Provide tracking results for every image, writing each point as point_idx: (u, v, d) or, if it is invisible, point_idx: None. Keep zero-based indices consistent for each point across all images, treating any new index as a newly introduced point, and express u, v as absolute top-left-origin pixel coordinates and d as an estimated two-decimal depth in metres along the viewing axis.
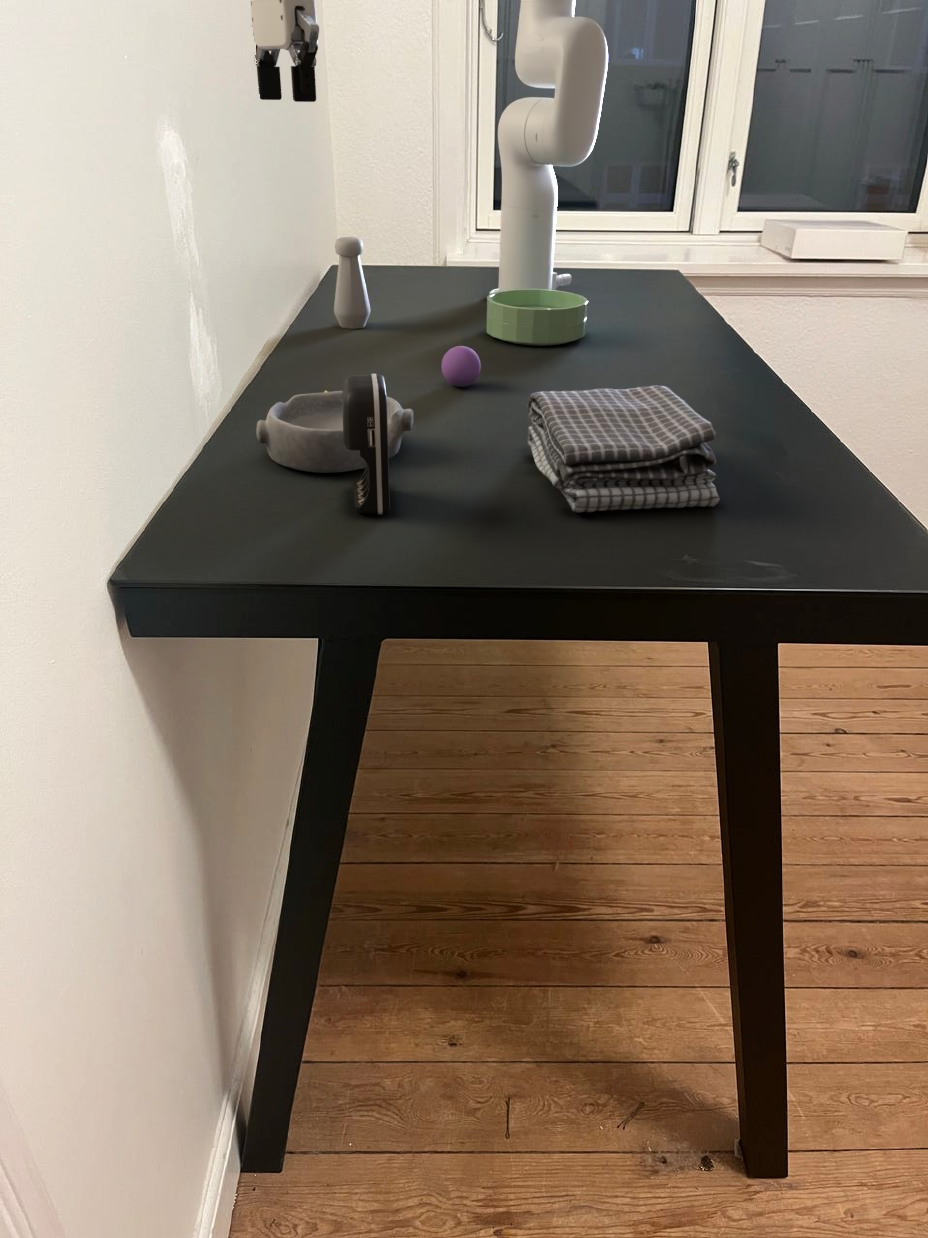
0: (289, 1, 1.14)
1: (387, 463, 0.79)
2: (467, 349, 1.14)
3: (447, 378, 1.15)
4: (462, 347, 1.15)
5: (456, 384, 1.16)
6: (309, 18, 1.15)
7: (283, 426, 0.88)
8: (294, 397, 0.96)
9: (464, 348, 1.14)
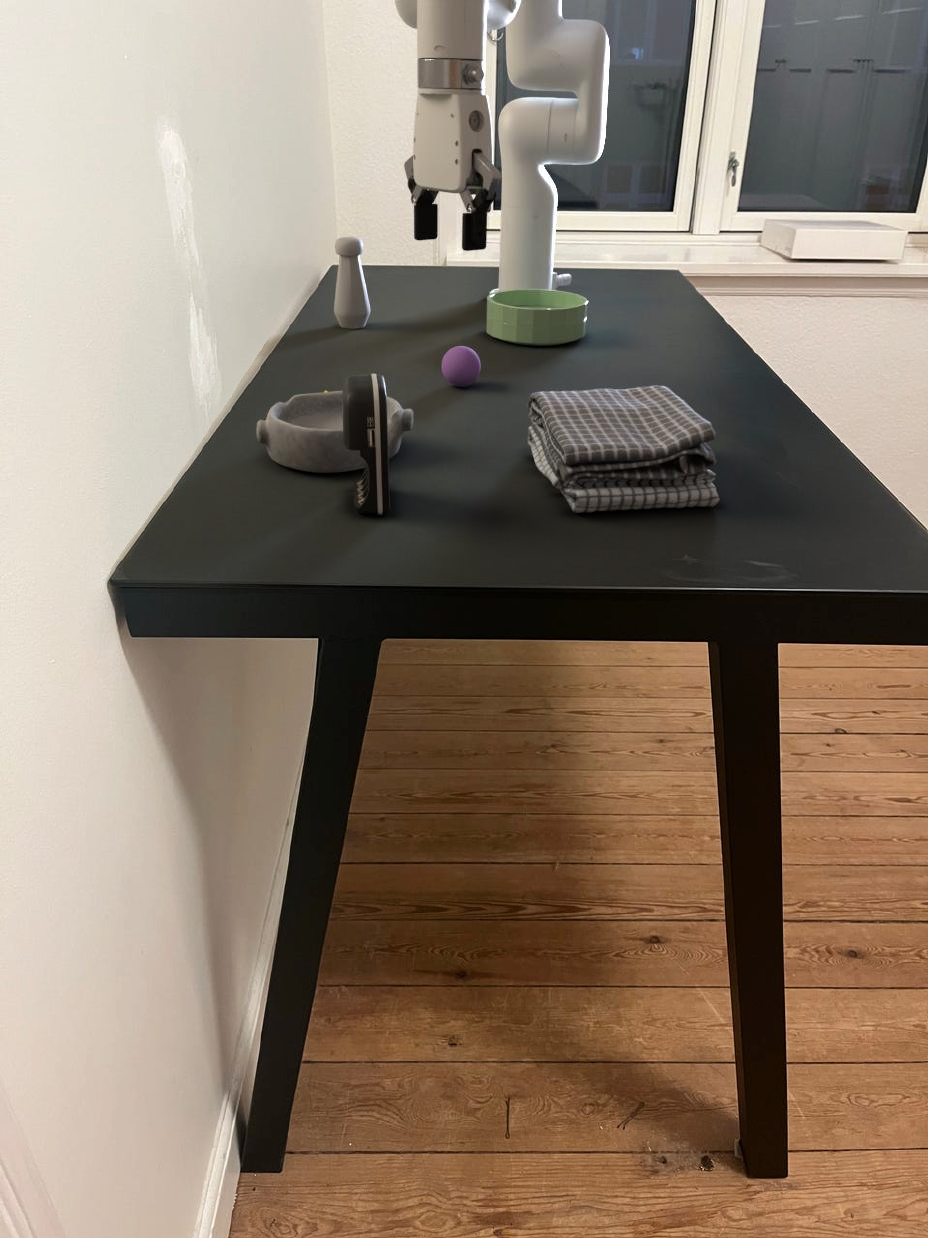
0: (467, 144, 1.01)
1: (387, 463, 0.79)
2: (467, 349, 1.14)
3: (447, 378, 1.15)
4: (462, 347, 1.15)
5: (456, 384, 1.16)
6: (489, 163, 1.01)
7: (283, 426, 0.88)
8: (294, 397, 0.96)
9: (464, 348, 1.14)
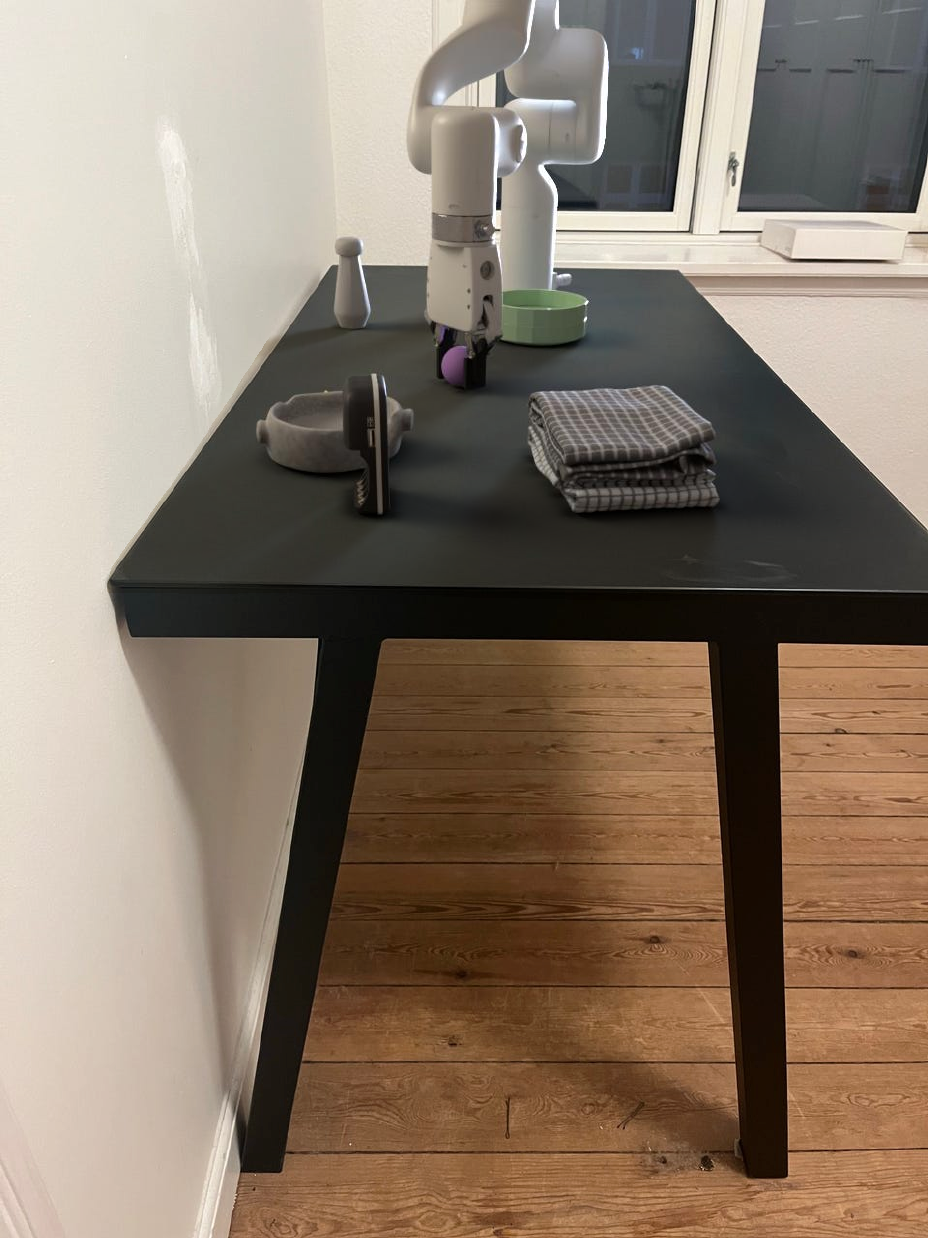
0: (478, 292, 1.07)
1: (387, 463, 0.79)
2: None
3: (447, 378, 1.15)
4: (462, 347, 1.15)
5: (456, 384, 1.16)
6: (495, 320, 1.08)
7: (283, 426, 0.88)
8: (294, 397, 0.96)
9: (464, 348, 1.14)
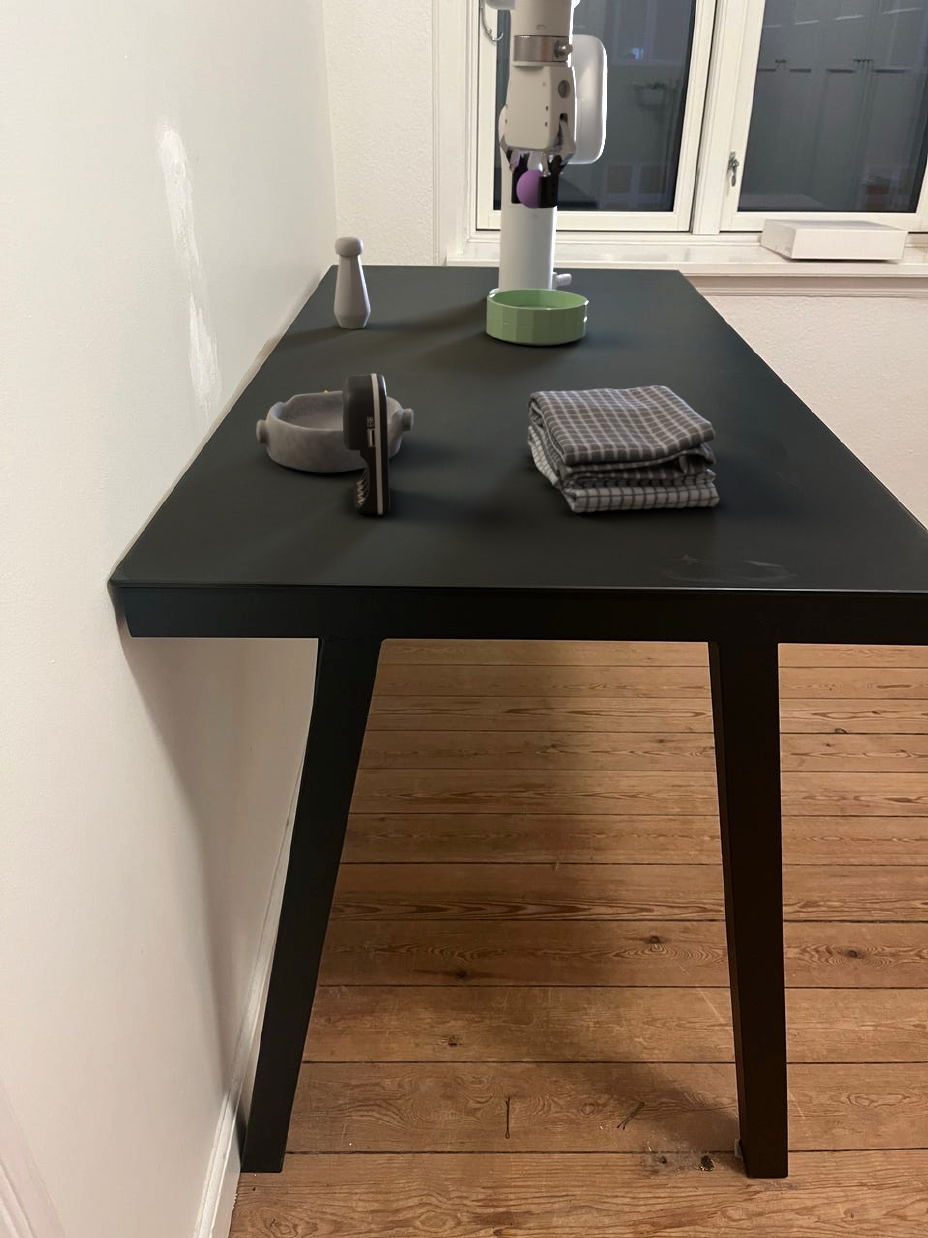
0: (556, 109, 1.19)
1: (387, 463, 0.79)
2: (541, 171, 1.26)
3: (522, 199, 1.27)
4: (536, 169, 1.26)
5: (530, 205, 1.27)
6: (569, 137, 1.20)
7: (283, 426, 0.88)
8: (294, 397, 0.96)
9: (538, 170, 1.26)
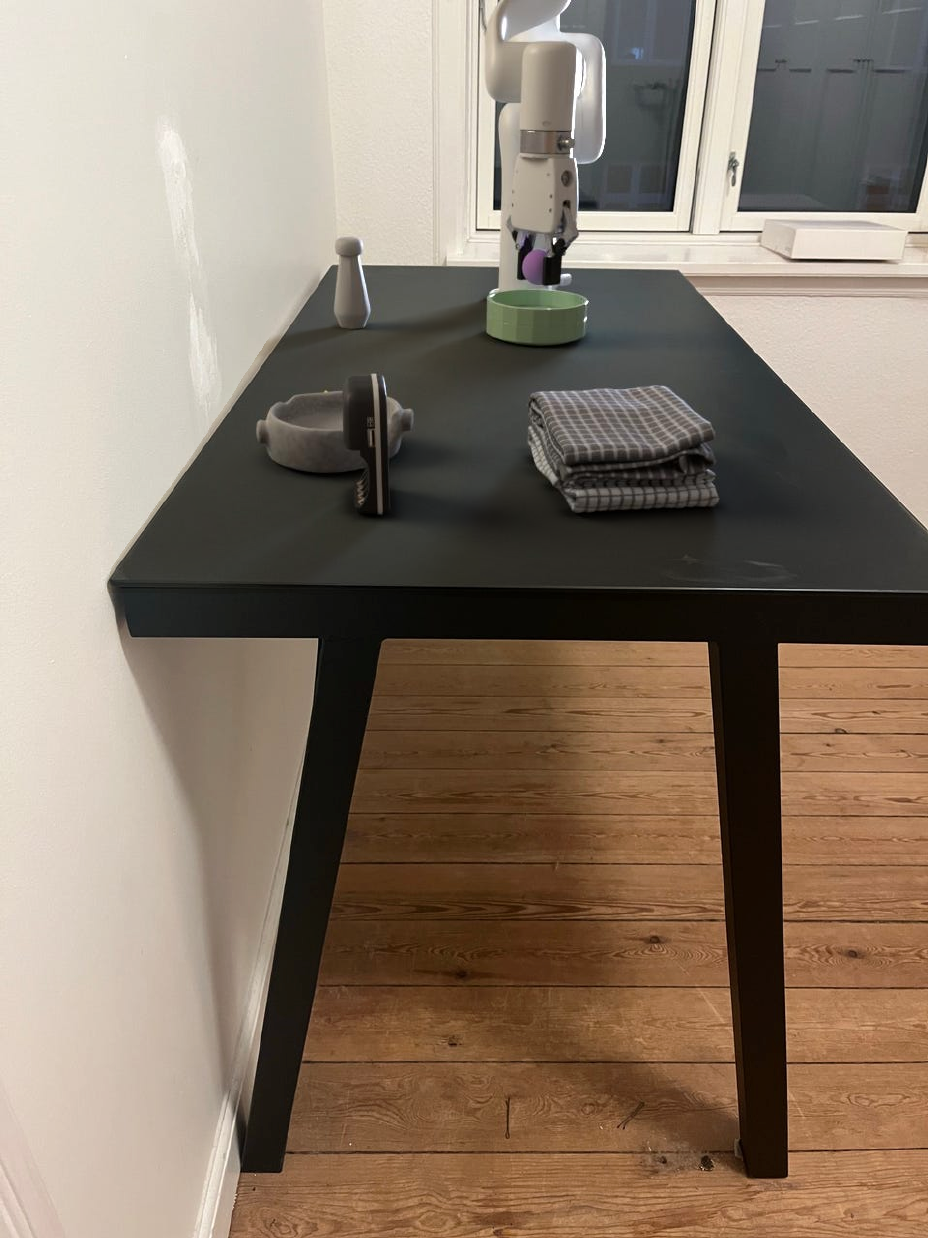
0: (559, 197, 1.27)
1: (387, 463, 0.79)
2: (545, 251, 1.34)
3: (527, 276, 1.35)
4: (541, 249, 1.34)
5: (535, 282, 1.36)
6: (572, 222, 1.28)
7: (283, 426, 0.88)
8: (294, 397, 0.96)
9: (542, 250, 1.34)
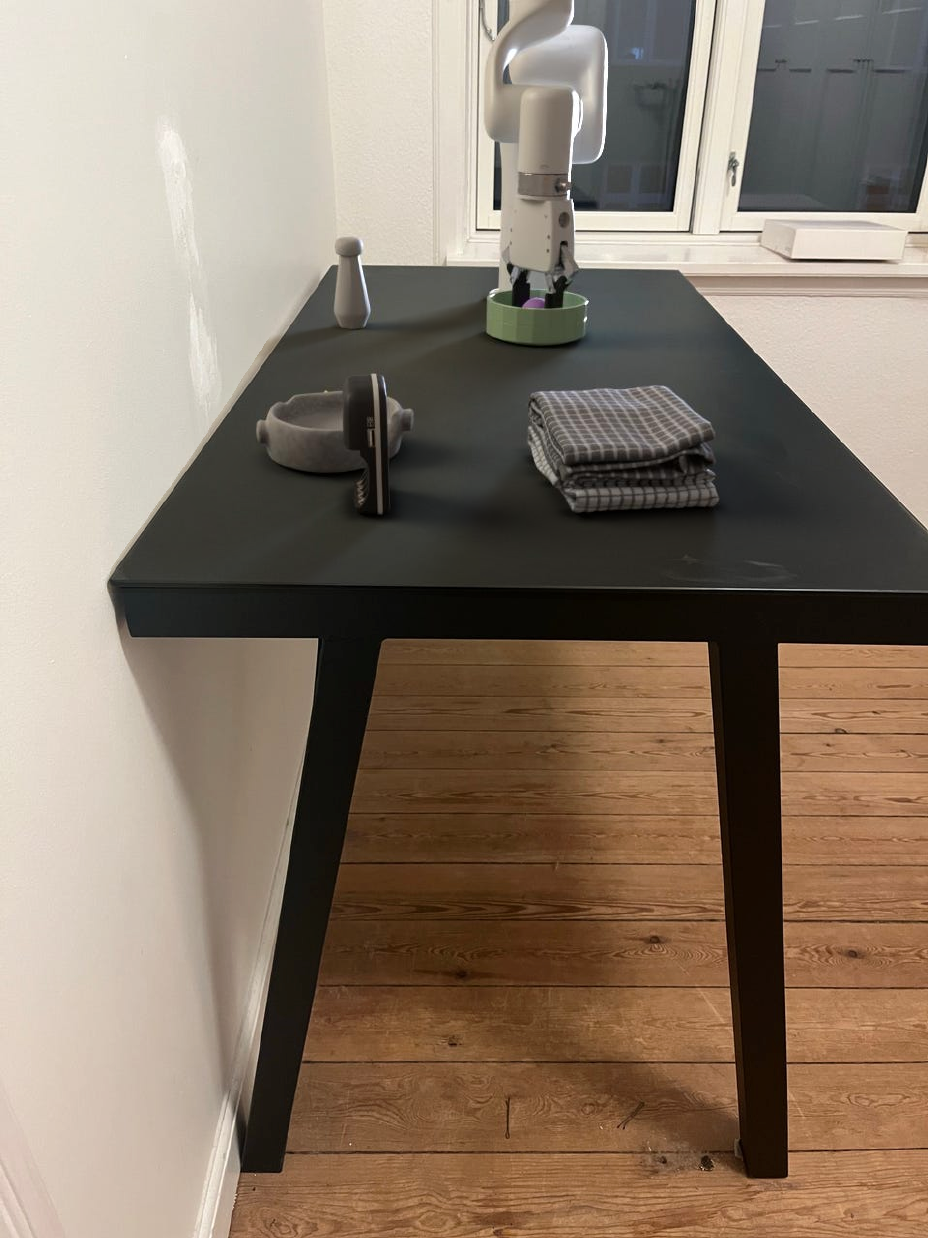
0: (556, 238, 1.30)
1: (387, 463, 0.79)
2: (543, 300, 1.38)
3: None
4: (538, 298, 1.38)
5: None
6: (571, 258, 1.31)
7: (283, 426, 0.88)
8: (294, 397, 0.96)
9: (540, 299, 1.38)
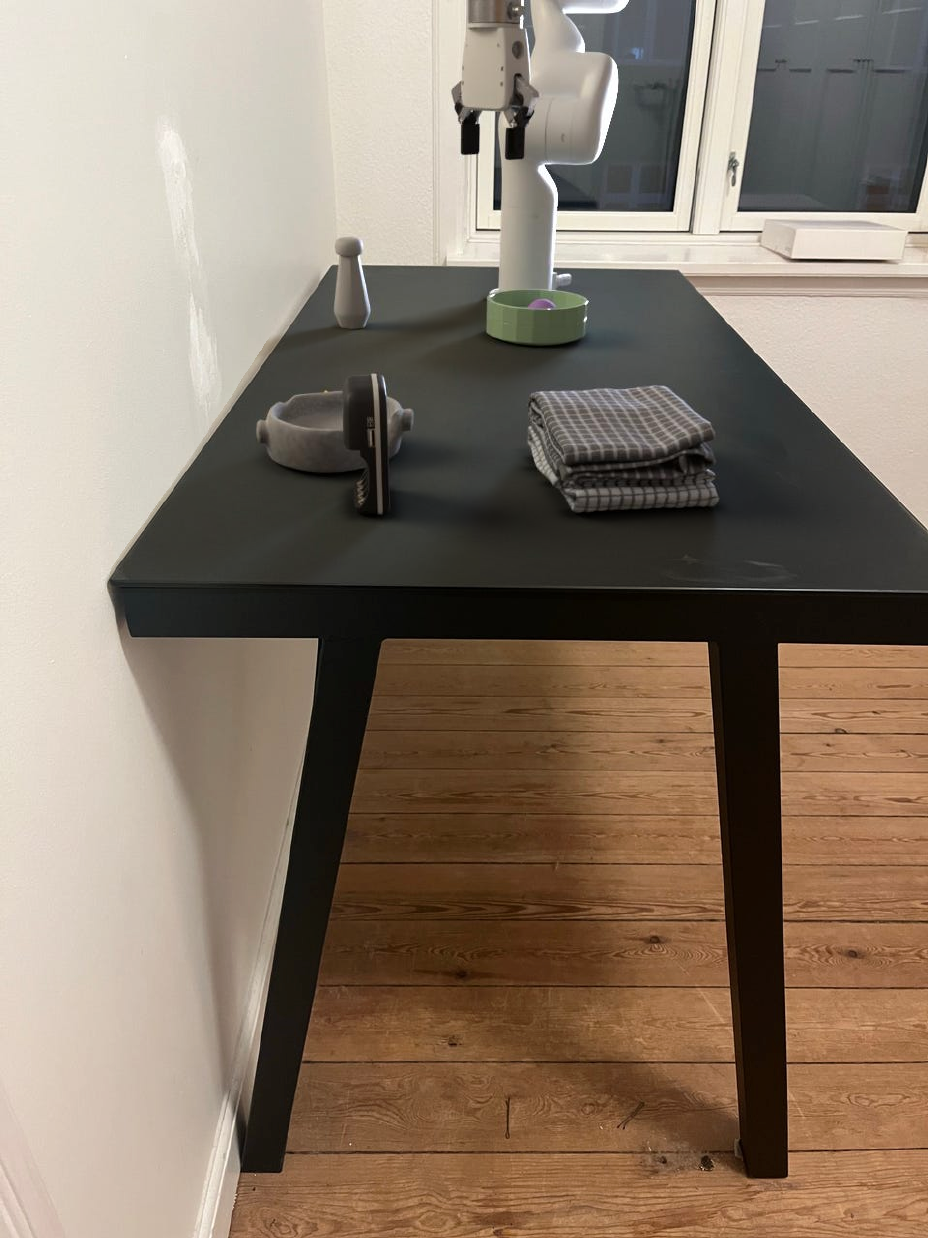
0: (510, 69, 1.23)
1: (387, 463, 0.79)
2: (552, 308, 1.37)
3: None
4: (549, 304, 1.37)
5: None
6: (529, 85, 1.24)
7: (283, 426, 0.88)
8: (294, 397, 0.96)
9: (550, 306, 1.37)
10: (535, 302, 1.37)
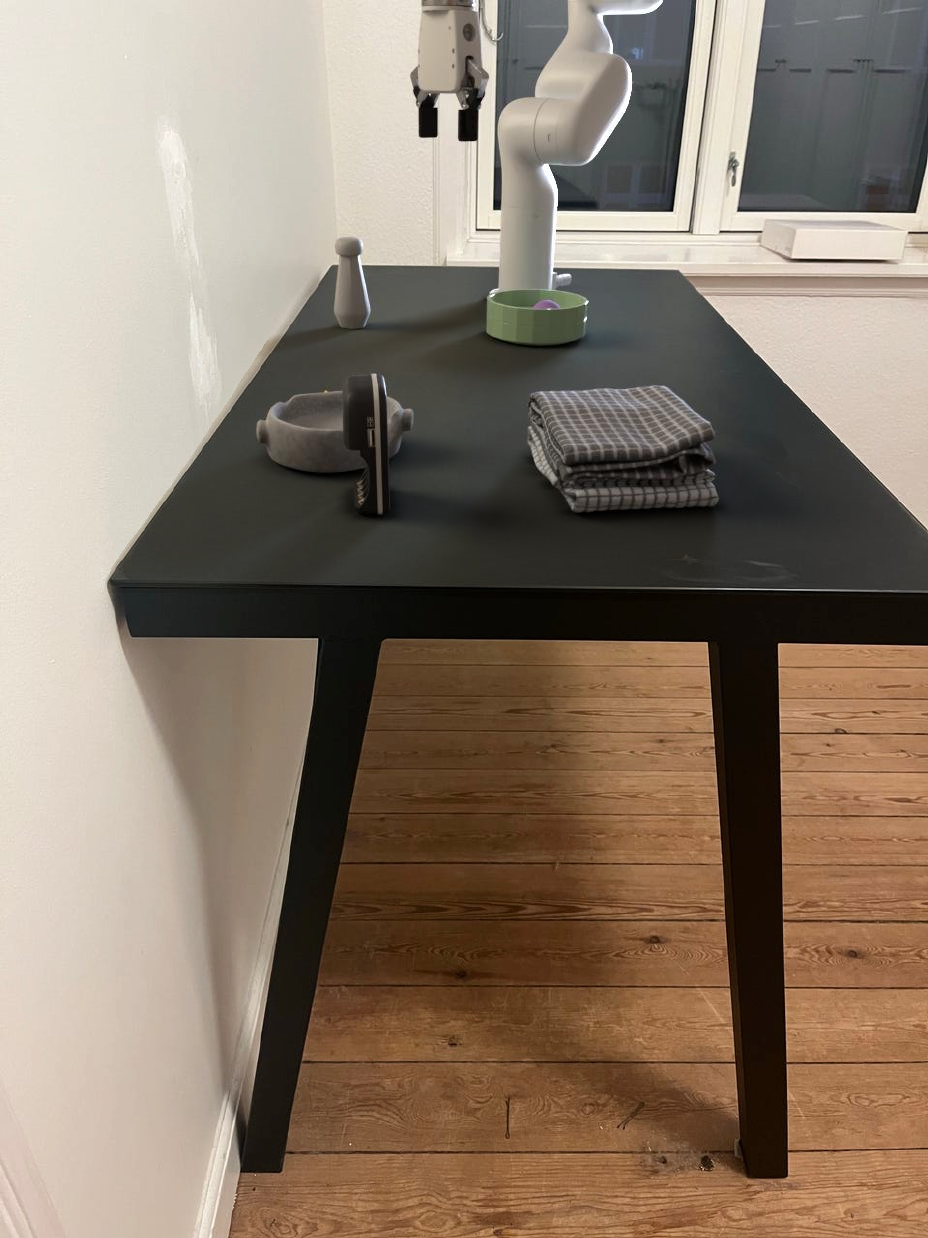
0: (461, 51, 1.25)
1: (387, 463, 0.79)
2: None
3: None
4: None
5: None
6: (479, 67, 1.26)
7: (283, 426, 0.88)
8: (294, 397, 0.96)
9: None
10: (543, 304, 1.36)
